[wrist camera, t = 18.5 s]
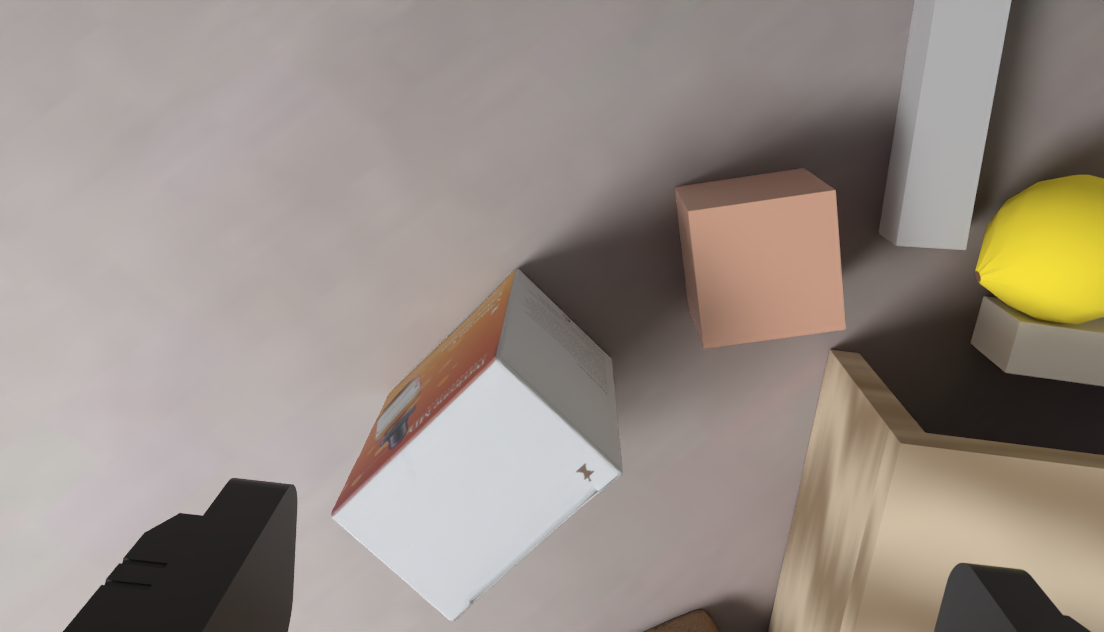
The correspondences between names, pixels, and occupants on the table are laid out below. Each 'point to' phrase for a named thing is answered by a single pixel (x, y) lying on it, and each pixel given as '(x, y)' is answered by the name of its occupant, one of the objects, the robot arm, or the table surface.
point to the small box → (485, 448)
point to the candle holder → (688, 623)
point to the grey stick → (942, 121)
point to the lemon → (1048, 250)
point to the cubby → (928, 516)
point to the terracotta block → (761, 257)
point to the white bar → (1040, 344)
